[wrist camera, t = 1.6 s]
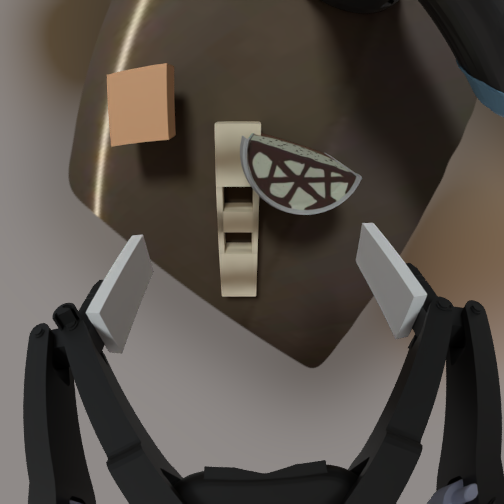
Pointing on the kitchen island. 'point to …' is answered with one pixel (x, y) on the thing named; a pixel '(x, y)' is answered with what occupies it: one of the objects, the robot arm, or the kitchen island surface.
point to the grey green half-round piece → (295, 175)
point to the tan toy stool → (141, 104)
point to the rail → (235, 211)
